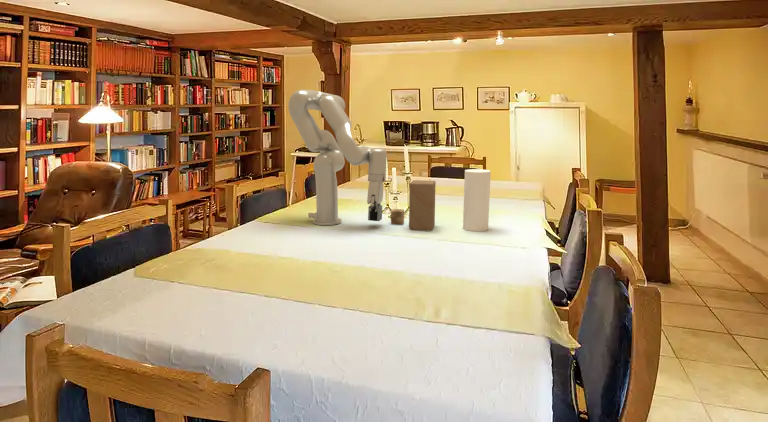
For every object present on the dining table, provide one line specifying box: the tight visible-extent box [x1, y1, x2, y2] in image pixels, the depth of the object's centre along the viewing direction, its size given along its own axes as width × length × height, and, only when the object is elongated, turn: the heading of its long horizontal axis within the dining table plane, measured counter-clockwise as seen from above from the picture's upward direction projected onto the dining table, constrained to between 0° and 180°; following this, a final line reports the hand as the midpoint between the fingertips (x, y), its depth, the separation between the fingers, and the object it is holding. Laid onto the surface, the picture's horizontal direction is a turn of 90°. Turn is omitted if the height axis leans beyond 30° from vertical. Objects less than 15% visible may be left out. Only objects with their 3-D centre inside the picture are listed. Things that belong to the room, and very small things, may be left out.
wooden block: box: [408, 179, 436, 231], centre depth 221 cm, size 10×10×20 cm
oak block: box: [390, 208, 405, 226], centre depth 231 cm, size 5×5×6 cm
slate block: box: [367, 204, 383, 222], centre depth 223 cm, size 5×5×6 cm
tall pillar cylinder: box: [462, 168, 492, 232], centre depth 219 cm, size 11×11×25 cm
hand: (375, 218), depth 224 cm, fingers closed on slate block, 5 cm apart
